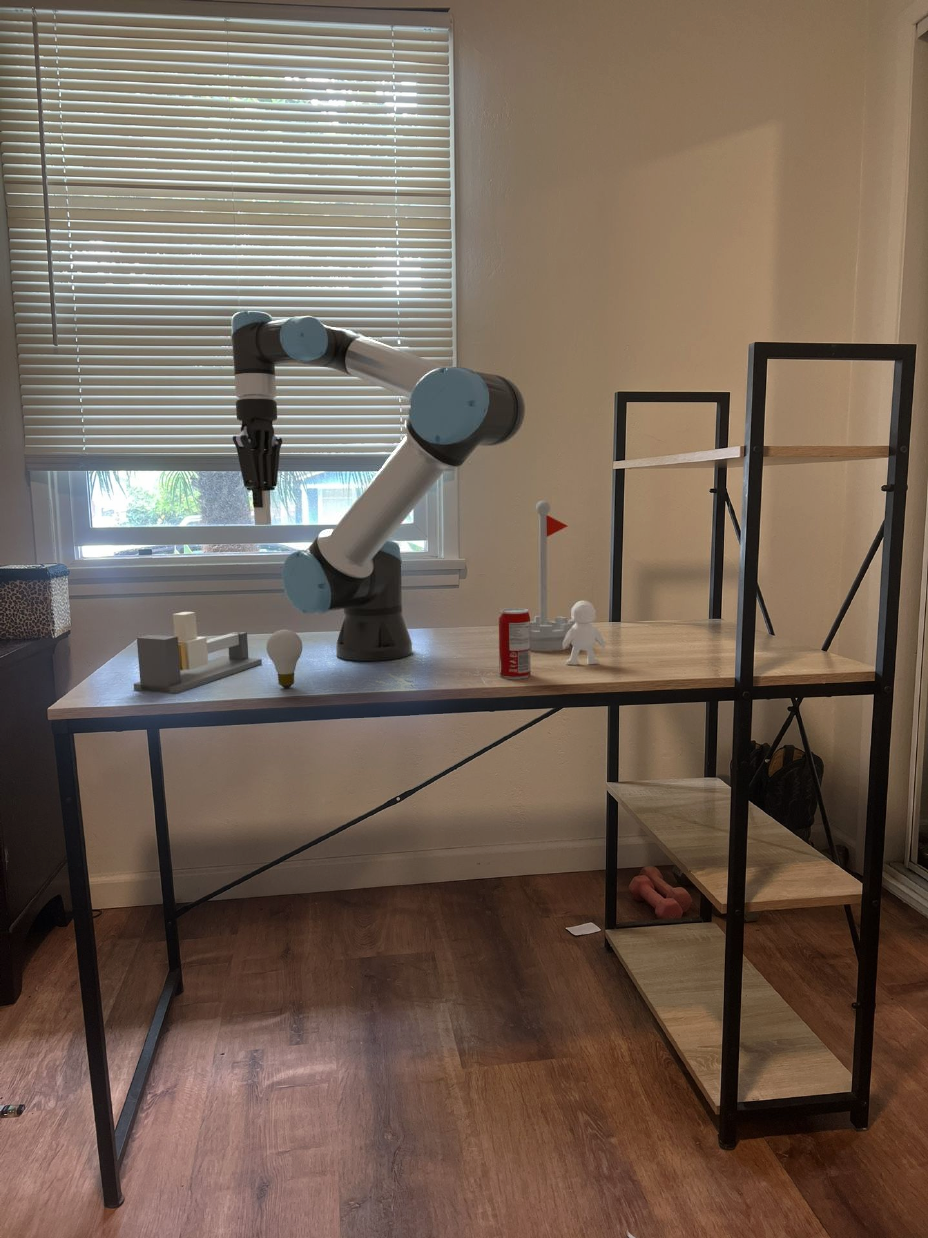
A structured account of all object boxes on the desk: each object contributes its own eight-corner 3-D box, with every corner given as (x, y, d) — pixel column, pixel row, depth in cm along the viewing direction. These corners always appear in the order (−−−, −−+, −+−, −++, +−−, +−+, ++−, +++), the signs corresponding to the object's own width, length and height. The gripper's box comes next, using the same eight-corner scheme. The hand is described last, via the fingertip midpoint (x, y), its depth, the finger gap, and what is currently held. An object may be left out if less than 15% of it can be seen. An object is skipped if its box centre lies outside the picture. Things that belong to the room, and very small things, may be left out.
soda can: (508, 671, 151) (507, 605, 149) (535, 674, 148) (535, 607, 146) (493, 677, 146) (493, 609, 144) (521, 681, 144) (521, 611, 142)
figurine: (563, 667, 153) (563, 602, 151) (559, 662, 158) (559, 599, 156) (606, 666, 154) (607, 601, 152) (601, 660, 158) (602, 598, 156)
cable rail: (261, 664, 161) (259, 617, 159) (176, 693, 139) (172, 640, 137) (223, 661, 164) (220, 615, 163) (134, 689, 142) (129, 637, 141)
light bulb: (271, 684, 144) (268, 627, 142) (306, 683, 144) (303, 626, 143) (266, 692, 138) (263, 633, 137) (302, 691, 139) (299, 632, 137)
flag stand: (503, 650, 171) (501, 501, 166) (523, 638, 182) (522, 500, 178) (564, 654, 166) (565, 501, 161) (581, 642, 177) (582, 499, 173)
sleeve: (208, 663, 149) (204, 611, 148) (189, 669, 145) (185, 616, 143) (186, 662, 151) (182, 610, 149) (167, 667, 146) (163, 614, 145)
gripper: (259, 402, 165) (266, 523, 169) (217, 397, 153) (225, 526, 157) (292, 401, 162) (298, 523, 166) (252, 394, 151) (259, 526, 154)
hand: (262, 524), depth 162 cm, fingers closed
